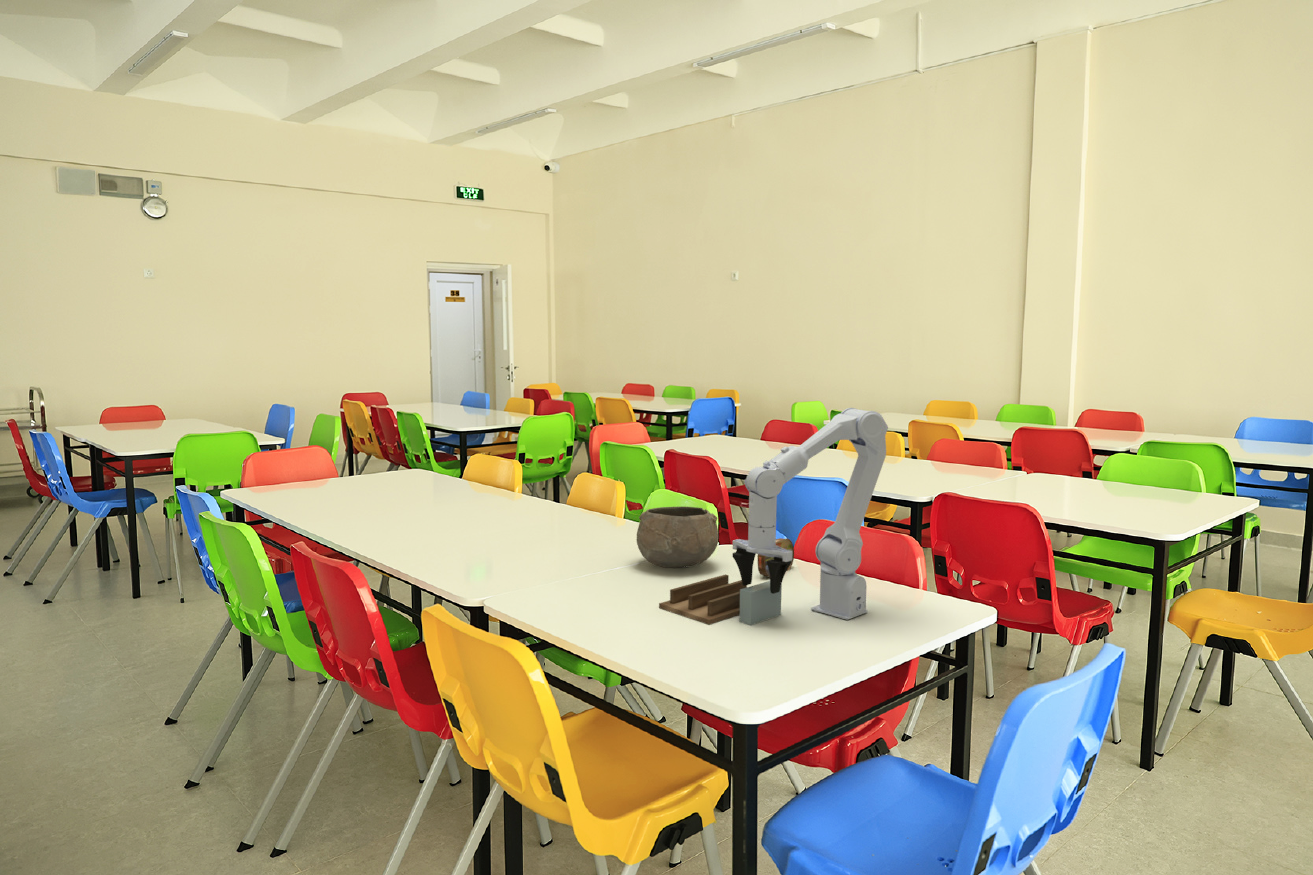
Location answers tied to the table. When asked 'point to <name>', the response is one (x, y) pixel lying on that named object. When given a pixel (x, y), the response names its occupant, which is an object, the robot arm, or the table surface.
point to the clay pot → (677, 536)
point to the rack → (706, 600)
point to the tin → (763, 559)
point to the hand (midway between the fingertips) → (760, 588)
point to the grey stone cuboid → (759, 603)
